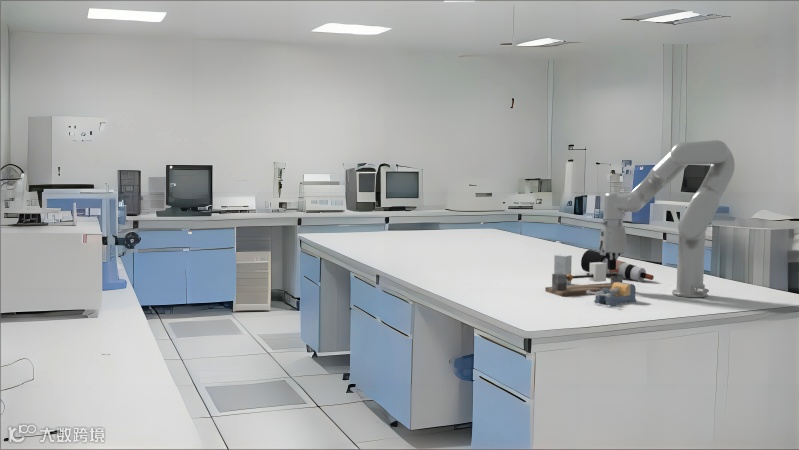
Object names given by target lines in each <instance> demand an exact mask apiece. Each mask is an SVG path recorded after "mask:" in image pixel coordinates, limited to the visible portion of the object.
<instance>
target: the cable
mask: <svg viewBox="0 0 799 450" xmlns="http://www.w3.org/2000/svg"><path fill="white" fill-rule="evenodd" d="M607 261H608V259H606V257H605V256H604V255H600V251H596V250H592V249H588V250H586V251H584V253H583V254H582V257H581V260H580V266H581V269H582V271H584V272H587V273H589V271H590V263H595V262H602V263H606V274H611V272H616V273H621V274H623V279H627V280H632V281H636V282H643V281H644V279H645V280H649V281H653V280H654V277H655V276H654V275H653V274H649V273H647V270H646V269H645V268H644V267H640V266H637V265H634V264H631V263H627V262H626V261H622V260H618V259H617V260H616V270H609V269H608V267H607Z"/></svg>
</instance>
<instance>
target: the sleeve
mask: <svg viewBox="0 0 799 450" xmlns="http://www.w3.org/2000/svg"><path fill="white" fill-rule="evenodd" d="M588 273H589V274H588V275H594V276H593V277H589V278H588V279H589V281H591V282H594V283H595V282H596V283H600V282H607V276H606V263H602V262H595V263H590V271H589V272H588Z"/></svg>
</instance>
